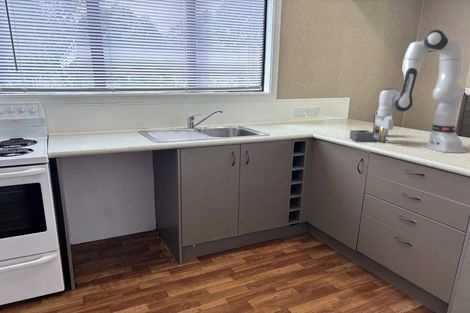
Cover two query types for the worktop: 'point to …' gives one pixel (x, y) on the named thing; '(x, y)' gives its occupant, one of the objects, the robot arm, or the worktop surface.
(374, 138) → the mat
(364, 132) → the chuck block
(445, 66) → the robot arm
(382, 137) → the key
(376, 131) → the coffee box
